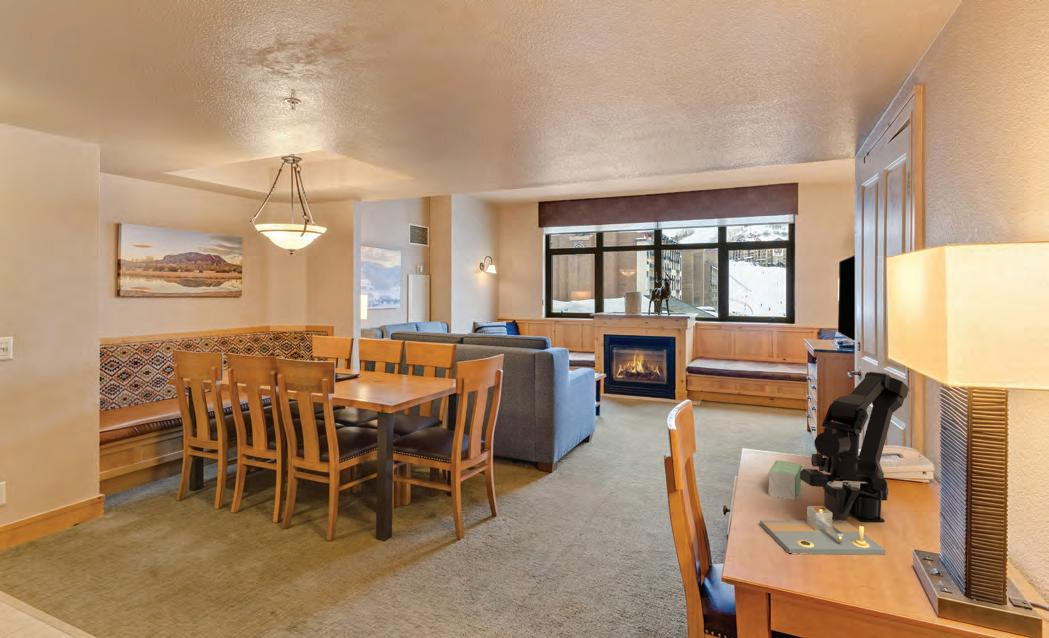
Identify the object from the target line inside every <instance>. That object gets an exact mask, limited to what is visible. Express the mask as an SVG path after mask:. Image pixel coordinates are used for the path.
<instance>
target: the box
mask: <svg viewBox="0 0 1049 638" xmlns="http://www.w3.org/2000/svg"><path fill="white" fill-rule="evenodd" d="M802 467H803V466H802V464H801V463H796V462H791V461H785V460H775V461H774V463H773V465H772V466H771V468H770V469H769V472H768V493H767V495H769V496H770V495H772V496H771V497H774V496H777V497H776V498H779V497H781V498H780V499H784V498H786V499H785V500H789V499H792V500H791V501H795V500H796V499H797V497H798V495H799V492H800V489H801V487H802V480H801V479H800V472H801V471H802V469H803V468H802Z"/></svg>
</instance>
